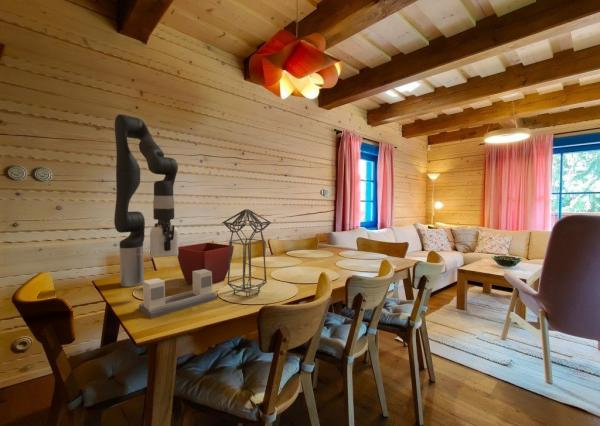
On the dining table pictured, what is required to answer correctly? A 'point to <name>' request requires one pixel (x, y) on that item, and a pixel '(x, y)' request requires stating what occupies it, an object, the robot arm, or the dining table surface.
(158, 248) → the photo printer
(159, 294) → the mounted modules
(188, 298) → the rail board
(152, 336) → the dining table surface
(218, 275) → the plant pot
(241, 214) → the geometric lantern
